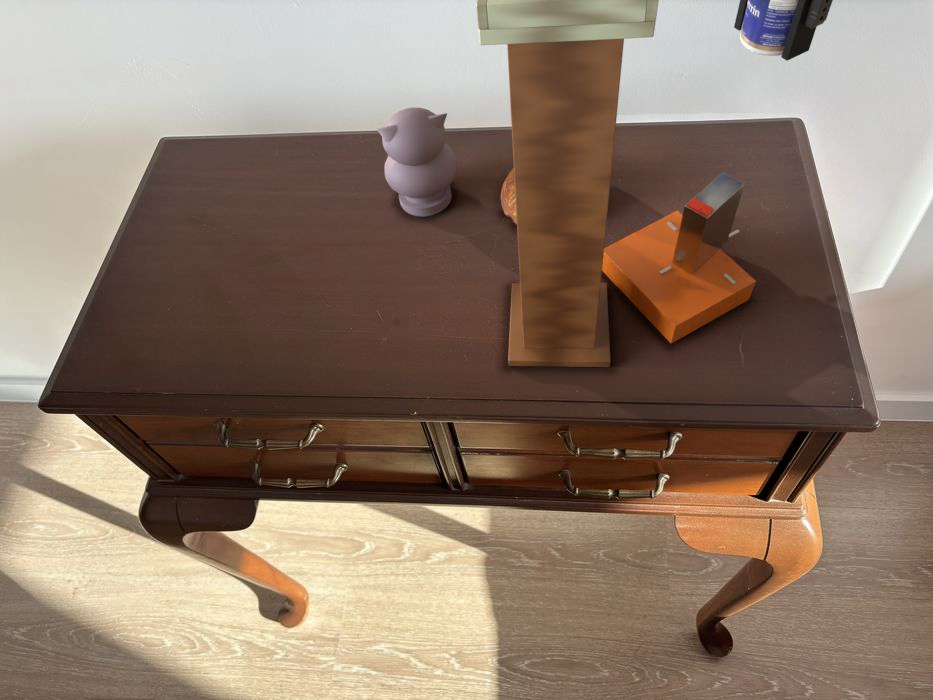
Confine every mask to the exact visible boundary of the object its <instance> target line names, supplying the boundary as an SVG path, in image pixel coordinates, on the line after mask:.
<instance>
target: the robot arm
mask: <svg viewBox="0 0 933 700" xmlns="http://www.w3.org/2000/svg"><path fill="white" fill-rule="evenodd" d="M833 1H834V0H798V3H797V6H796V9H795V13H794V16H793V19H792V23H791V26H790V29H789V33H788V36H787V40H786V43H785V46H784V50H783V53H782V55H780V57H781V58H782V59H783V60H785V61H786V62H788V61H790V60H791V59H795V58H796V57H798V56H800V55H802V54H805V53H806V52H809V51H810V49H811V45H812V42H813V39H814V36H815V33H816V30H817V27H819V26H821V25H823V24H824V23H825V21H827V19H828V16H829V12H830V10H831V7H832V4H833ZM747 3H748V0H739V3H738V8H737V12H736V17H735V21H734V25H733V29H736V30H737V31H740V32H741V28H742V24H743V20H744V16H745V12H746V7H747Z"/></svg>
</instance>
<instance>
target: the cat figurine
mask: <svg viewBox="0 0 933 700" xmlns="http://www.w3.org/2000/svg"><path fill="white" fill-rule="evenodd" d="M447 116H448V112H446V113H439V114H436V113H435V112H433V111H431V110H429V109H427V108H423V107H415V106H413V107H407V108H403V109H400V110H398V111H397V112H395V113H394V114H393V115H392V116H391V117H390V118H389V119H388V120H387V121H386V122H385V125H384V127H380V128H376V131H377V132H378V133H379V135H380V136H381V139H382V140H381V141H382V146H383V149H384V151H385V152H386V154H387V157H386V160H385V162H384V166H383V167H384V178H385V180H386V182H387V184H388V186H389V187H390V188H391V190H393V191H394V192H395V193H398V199H399V200H398V201H399V203H400V206H401V208H402V210H403V211H405V212H406V213H407V214H409V215H412V216H414V217H423V218H424V217H429V216H430V217H431V216H434V215H436V214H439V213H441V212H442V211H444V210H446V209H447V207H448V206H449V205H450V203H451V201H452V198H453V196H452V189H451V183H452V182H453V180H454V178H455V175H456V173H457V169H458V165H457V164H458V163H457V158H456V154H455V153H454V152H453V150H452V149H451V147H450V146H449V145H448V144H447V143H446V140H447V135H446V128H445V123H446V119H447Z"/></svg>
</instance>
